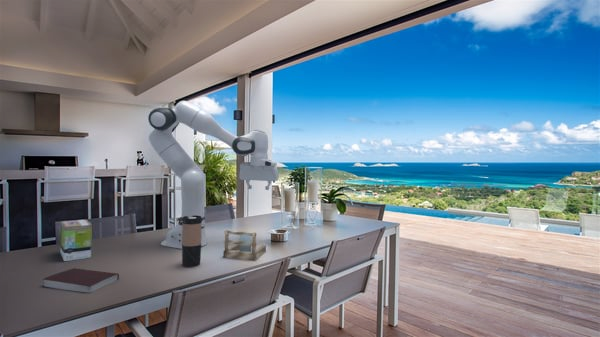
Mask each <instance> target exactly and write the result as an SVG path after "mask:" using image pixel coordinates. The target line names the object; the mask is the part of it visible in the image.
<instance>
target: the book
mask: <svg viewBox="0 0 600 337" xmlns="http://www.w3.org/2000/svg"><path fill="white" fill-rule="evenodd" d="M119 278H120V274H119V273H115V272H109V271H108V272H107V271H102V270H101V271H99V270H90V269H84V268H83V269H82V268H76V267H73V268H71V269H70V268H69V269H67V270H64V271H61V272H57V273H55V274H54V273H53V274H52V275H49V276H46V277H44V278H42V281H43V285H42V287H43V288H48V289H49V288H50V289H57V290H63V291H64V290H65V291H74V292H81V293H87V294H92V293H93V292H96V291H97V290H99V289H101V288H103V287H106V286H107V285H111V283H114V282H116V281H119Z"/></svg>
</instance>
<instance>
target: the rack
mask: <svg viewBox="0 0 600 337" xmlns="http://www.w3.org/2000/svg"><path fill="white" fill-rule="evenodd" d="M229 235H236V236H237V235H239V236H240V235H248V236H252V242H243V241H240V240H231V239H230V238H229V237H230V236H229ZM229 239H230V240H229ZM229 244H230V245H231V246H229ZM240 245H249V246H251V252H244V251H239V246H240ZM256 247H257V232H252V231H251V232H250V231H241V230H240V231H237V230H226V229H225V230H224V250H223V253H222V254H223V258H225V259H233V258H234V260H242V261H243V260H245V261H256V260H258V259H259V258H260V257H261V256H262V255H263V254H264V253H266V250H267V249H266V248H267V245H266V244H265V245H264V244H261V245H260V246H259V247H257V248H256Z"/></svg>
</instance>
